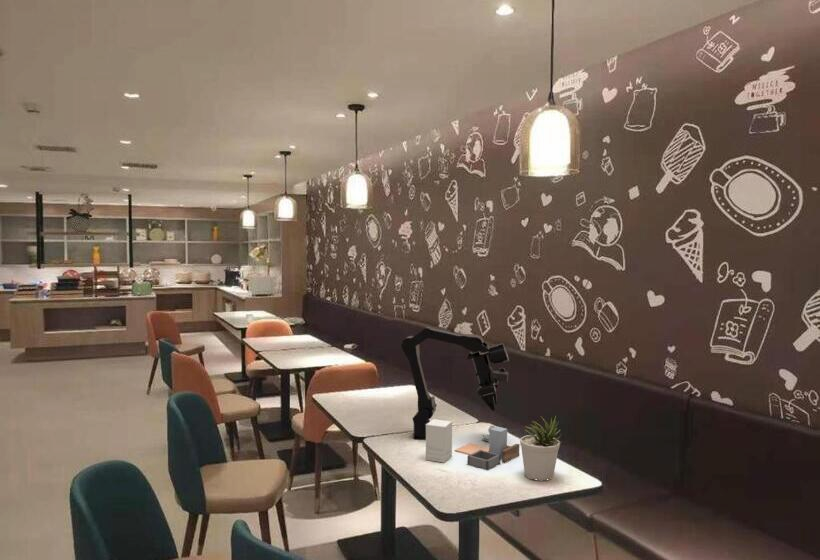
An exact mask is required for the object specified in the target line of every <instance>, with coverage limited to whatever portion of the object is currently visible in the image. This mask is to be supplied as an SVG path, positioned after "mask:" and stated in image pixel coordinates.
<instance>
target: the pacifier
mask: <svg viewBox="0 0 820 560" xmlns="http://www.w3.org/2000/svg"><path fill="white" fill-rule="evenodd" d="M493 427H496V426H495V425H490V426H489V427H488V432H489V429H491V428H493ZM481 440H482V441H486V442H488V443H489V435H482V438H481Z"/></svg>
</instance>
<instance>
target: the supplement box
mask: <svg viewBox="0 0 820 560" xmlns="http://www.w3.org/2000/svg"><path fill="white" fill-rule="evenodd" d="M452 438H453V422H452V421H450V420H441V419H431V420H430V422H429V423H427V424H426V439H425V460H426V461H430V462H431V461H432V462H438V463H442V464H443V463H444V464H446V462H448V461H449V460H450V459H451V458H452V457H453V442H452V441H453V439H452Z"/></svg>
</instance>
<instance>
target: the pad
mask: <svg viewBox="0 0 820 560" xmlns="http://www.w3.org/2000/svg"><path fill="white" fill-rule="evenodd" d="M479 450H483V451H487V452H489V446H488V447H487V446H484V445H479V444H475V443H472V442H468V443H467V444H464V445H462V446H460V447H457V448H455V449H454V452H457V453H461V454H464V455H467V456H468V455H470V454H472V453H475V452H477V451H479Z"/></svg>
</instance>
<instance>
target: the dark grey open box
mask: <svg viewBox="0 0 820 560" xmlns="http://www.w3.org/2000/svg"><path fill="white" fill-rule="evenodd" d="M498 464H499V465H500V464H501V460H500V455H498V454H495V453H491V452H487V451H483V450H479V451H477V452H475V453H472V454H470V455H467V465H469V466H471V467H475V468H477V469H478V468H479V469H483V470H484V471H485V470H486V471H490V470H491V469H493V468H495V467H496V465H497V466H498Z"/></svg>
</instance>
